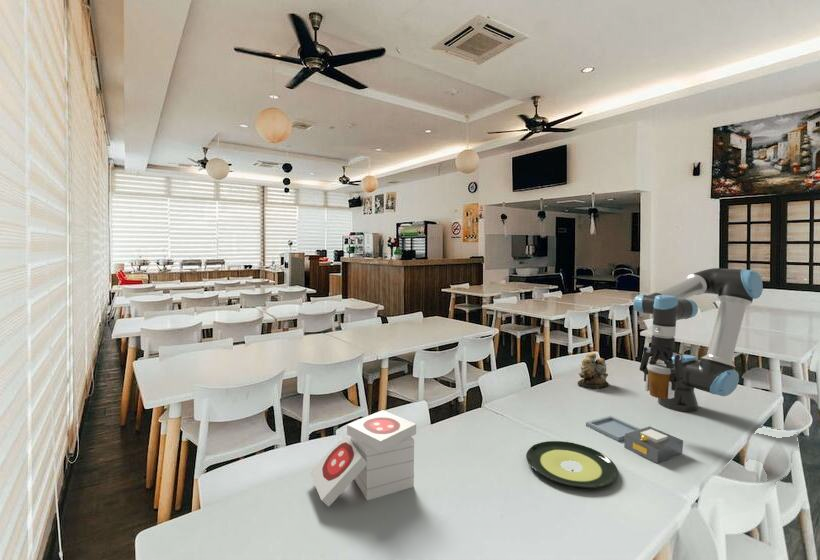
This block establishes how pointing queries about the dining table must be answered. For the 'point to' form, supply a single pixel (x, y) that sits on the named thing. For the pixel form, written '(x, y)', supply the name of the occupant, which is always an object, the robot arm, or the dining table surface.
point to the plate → (552, 453)
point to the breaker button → (654, 436)
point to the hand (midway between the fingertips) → (659, 393)
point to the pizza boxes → (369, 458)
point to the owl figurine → (593, 372)
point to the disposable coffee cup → (659, 379)
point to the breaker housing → (653, 446)
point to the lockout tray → (612, 427)
